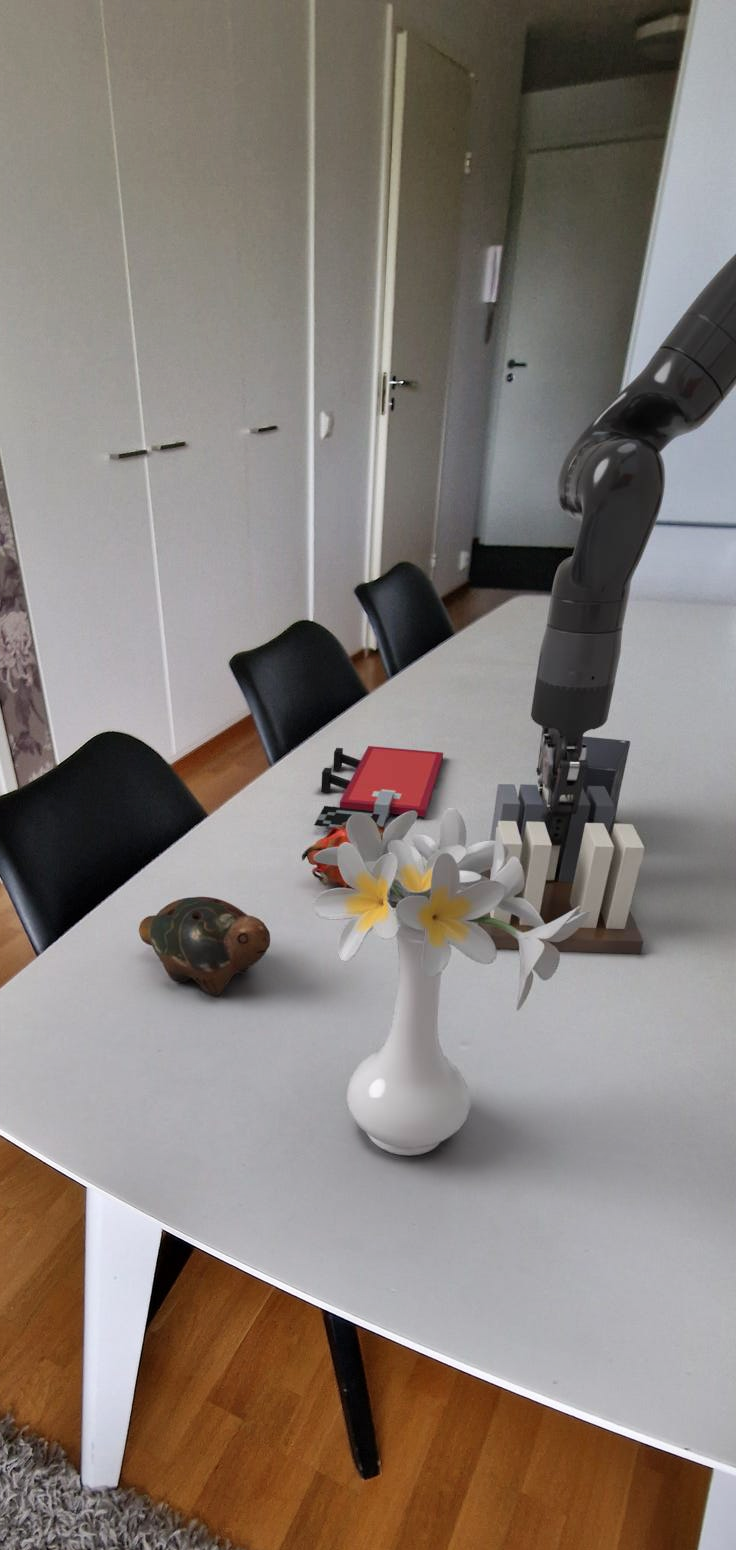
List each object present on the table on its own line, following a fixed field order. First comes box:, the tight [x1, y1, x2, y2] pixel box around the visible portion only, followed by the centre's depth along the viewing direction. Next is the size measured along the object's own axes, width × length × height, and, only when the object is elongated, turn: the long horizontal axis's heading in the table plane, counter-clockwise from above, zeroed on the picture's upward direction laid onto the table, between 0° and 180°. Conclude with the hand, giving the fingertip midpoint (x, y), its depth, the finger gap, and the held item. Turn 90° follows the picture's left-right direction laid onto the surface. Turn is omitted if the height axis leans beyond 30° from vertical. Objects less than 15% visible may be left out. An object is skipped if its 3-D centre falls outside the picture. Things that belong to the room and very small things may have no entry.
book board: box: [473, 869, 645, 955], centre depth 100 cm, size 16×20×2 cm
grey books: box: [489, 783, 614, 882], centre depth 101 cm, size 11×6×9 cm, turn 83°
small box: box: [582, 735, 631, 835], centre depth 112 cm, size 11×6×10 cm, turn 154°
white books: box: [490, 821, 645, 929], centre depth 93 cm, size 13×6×9 cm, turn 83°
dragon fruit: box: [301, 822, 399, 889], centre depth 103 cm, size 8×8×12 cm
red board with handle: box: [313, 745, 444, 828], centre depth 126 cm, size 30×3×15 cm
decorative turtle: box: [138, 896, 271, 997], centre depth 89 cm, size 10×15×8 cm, turn 61°
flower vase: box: [312, 807, 590, 1157], centre depth 65 cm, size 13×18×25 cm
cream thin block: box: [541, 784, 567, 880], centre depth 101 cm, size 2×6×9 cm, turn 174°
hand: (548, 831), depth 101 cm, fingers closed on cream thin block, 5 cm apart
